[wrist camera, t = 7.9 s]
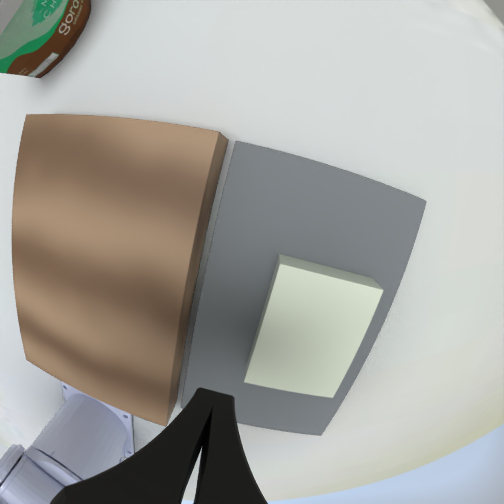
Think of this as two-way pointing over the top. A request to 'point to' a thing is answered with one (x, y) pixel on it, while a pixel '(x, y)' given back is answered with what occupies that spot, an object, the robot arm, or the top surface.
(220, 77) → the top surface
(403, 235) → the mat
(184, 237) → the board
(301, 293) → the tile
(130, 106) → the top surface
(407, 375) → the top surface
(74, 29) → the food container
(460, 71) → the top surface
